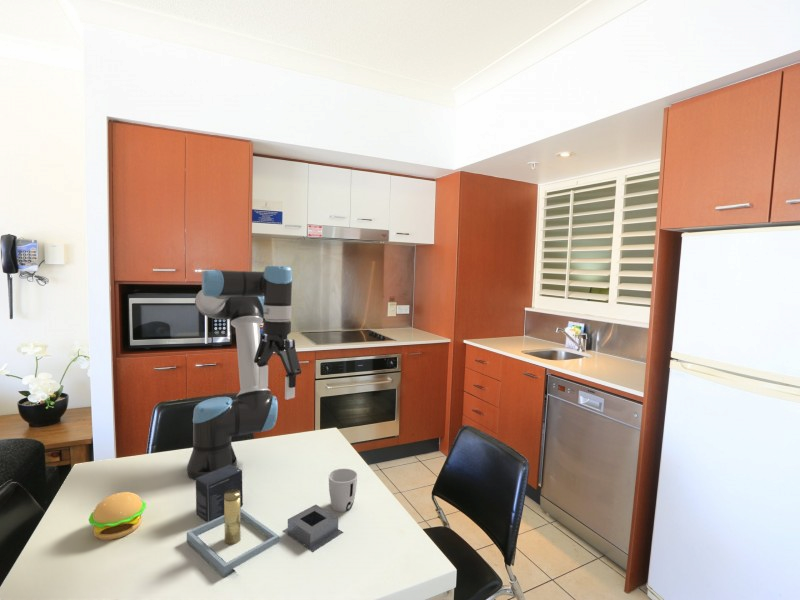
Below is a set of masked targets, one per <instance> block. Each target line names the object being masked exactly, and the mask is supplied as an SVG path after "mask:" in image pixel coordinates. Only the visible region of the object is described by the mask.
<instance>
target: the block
mask: <svg viewBox="0 0 800 600" xmlns="http://www.w3.org/2000/svg"><path fill="white" fill-rule="evenodd" d="M282 533H284V534H286V535H287V536H288V537H290V538H292V539H293V540H294V541H295V542H296V543H298V544H300V545H301V546H302V547H304V548H305V549H307V550H308V551H309V552H312V553H314V552H316V551H317V550H318V549H320V548H322V547H323V546H325V545H326V544H328V543H329V542H331V541H333V540H334V539H336V538H337V537H339V536H341V535H343V534H344V531H343V530H341V529H339V517H338V516H337V515H335V514H333V513H331V512H330V511H328V510H326V509H324V508H323V507H321V506H319V505H317V503H316V504H314V505H311V506H310V507H308V508H306V509H304V510H302V511H300V512H299V513H297V514H295V515H292V516H291V517H290V518H288V519H287V527H286V528H285V529H284V530H282Z"/></svg>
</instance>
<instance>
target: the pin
mask: <svg viewBox="0 0 800 600" xmlns="http://www.w3.org/2000/svg"><path fill="white" fill-rule="evenodd" d="M240 508H241V507H240V491H239V490H236V489H234V490H229V491H227V492H226V493H225V494H224V521H225V523H224V544H225V545H228V546H232V545H235V544H238V543H239V542H240V541H241V539H242V538H241V537H242V536H241V517H240Z"/></svg>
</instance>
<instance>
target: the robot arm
mask: <svg viewBox="0 0 800 600" xmlns="http://www.w3.org/2000/svg"><path fill="white" fill-rule="evenodd" d="M292 285H293V272H292V268H291V267H290V266H285V265H282V266H281V265H267V266H265V267H264V270H263V271H249V270H247V271H245V270H243V271H239V270H219V269H212V270H208V269H207V270H204V271H203V272H202V276H201V290H199V291H198V293H197V294H196V296H195V299H194V304H195V307H196V309H197V311H198V312H199V313H201V314H202V315H203V316H206V317H207V318H209V319H210V318H211V319H215V320H229V321H230V325H231V326H232V327H233V328H235V337H236V338H235V339H236V350H237V352H236V353H237V363H238V374H239V375H238V376H239V387H240V390H239V392H238V393H237V394H236V400H232V398H231V397H229V396H217V397H211V398H207V399H205V400H203V401H200V402H198V404H197V405H195V407H194V409H193V418H192V423H193V424H192V425H193V426H192V427H193V429H192V430H193V433H192V441H193V442H192V451H191V454H190V456H189V457H190V458H189V460H188V462H187V465H186V474H187V477H188V478H190V479H192V480H195V481H196V478H198V477H200V476H203V475H205V474H208V473H210V472H213V471H215V470H218V469H220V468H223V467H225V466H228V465H232V466H235V467H237V466H238V461H237V455H236V453H235V451H234V448H233V445H232V437H236V436H237V437H238V436H244V435H250V434H256V433H262V432H266V431H270V430H272V429H273V428H274V427H275V425H276V423H277V418H278V411H279V410H278V409H279V405H278V404H279V402H278V399H277V398H278V397H276V395H272V392H271V389H269V388H268V387H269V361H270V359H271V357H272V356H273V354H274V353H275V354H277V356H279V357H280V360H281V362H282V365H283V368H284V369H285V372H286V375H285V379H284V384H285V385H284V391H285V392H284V400H286V401H287V400H291V399H294V398H296V382H297V381H296V380H297V376H298V375H302V370H301V365H300V362H299V357H298V353H297V349H296V340H295V339H294V338H293V339H288V335H290V334H291V332H292V331H291V330H292V321H291V319H292V295H293V294H292V292H293V291H292V290H293V289H292V287H293V286H292ZM264 319H265V320H264ZM262 324H263V330H262V331H263V333H261V329H260V326H261V325H262ZM237 468H238V467H237Z"/></svg>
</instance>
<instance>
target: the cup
mask: <svg viewBox="0 0 800 600" xmlns="http://www.w3.org/2000/svg"><path fill="white" fill-rule="evenodd" d="M357 485H358V472H357V471H356V470H354V469H351V468H337V469H334V470H332V471H330V472H329V474H328V491H329V492H328V493H329V497H330V504H331V507H332V510H334V511H336V512H341V513H342V512H343V513H344V512H348V511H349V510H351V509H353V505H354V503H355V497H356V493H357Z"/></svg>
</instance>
